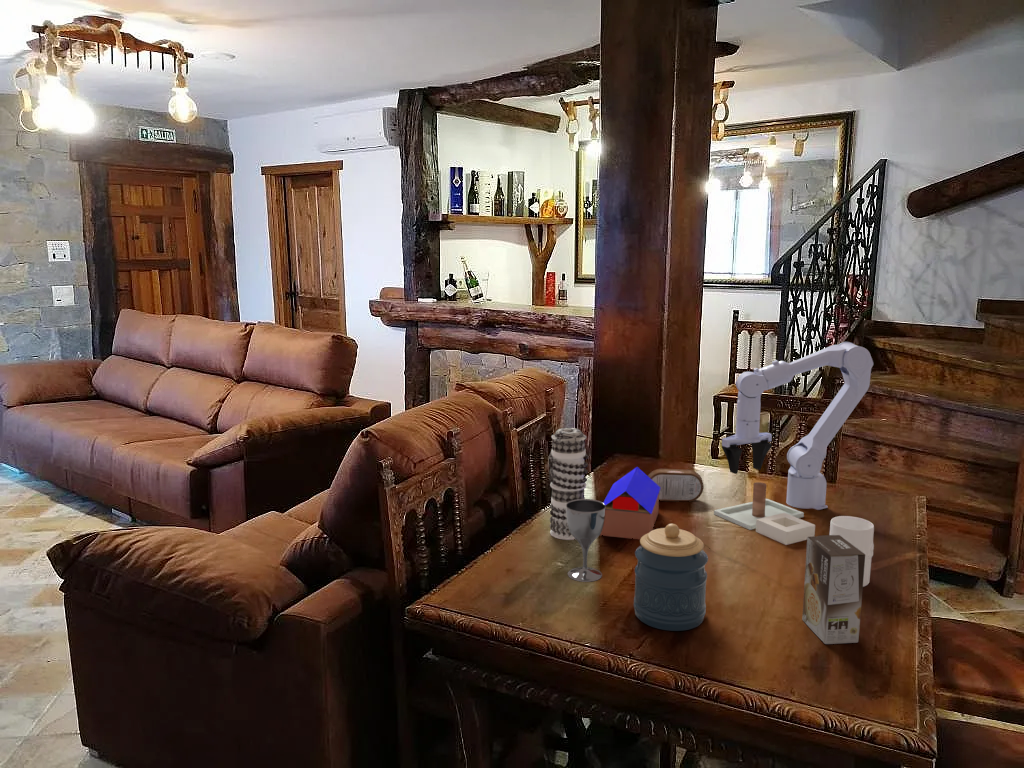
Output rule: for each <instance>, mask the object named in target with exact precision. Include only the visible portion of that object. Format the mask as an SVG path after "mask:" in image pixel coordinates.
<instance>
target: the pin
mask: <svg viewBox="0 0 1024 768" xmlns="http://www.w3.org/2000/svg"><path fill="white" fill-rule="evenodd" d="M766 496H767V483H764V482H760V481H759V482H758V481H756V482H754V483H753V487H752V502H753V505H752V516H754V517H764V516H765V502H766V499H767V497H766Z"/></svg>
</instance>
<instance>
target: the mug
mask: <svg viewBox="0 0 1024 768" xmlns="http://www.w3.org/2000/svg"><path fill="white" fill-rule="evenodd" d="M829 522H830V524H829V525H830V526H829V535H840V536H841V537H843V538H844V539H845V540H847V541H848V542H849V543H851V544H852V545H853V546H855V547H856V548H857V549H859V550H860V551H861V552H863V553H864V554H865V565H864V577H863V588H864V587H866V586H868V585H869V583H870V578H871V569H872V558H873V557H874V549H875V548H874V547H875V544H874V543H875V542H874V535H875V534H874V532H875V526H874V523H872V522H871V521H870V520H868V519H865V518H861V517H857V516H851V515H839V516H835V517H832V518H831V520H830V521H829Z"/></svg>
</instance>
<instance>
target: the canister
mask: <svg viewBox="0 0 1024 768" xmlns="http://www.w3.org/2000/svg"><path fill="white" fill-rule="evenodd" d="M639 544H640V545H639V546H638V547H637V548H636V549H635V551H634V555H635V558H636V560H637V564H636V565H635V567H634V574H635V578H634V579H635V580H634V581H635V582H634V583H635V585H634V597H633V609H634V614H635V616H636V618H637V619H638V620H640V622H642V623H644V624H645V625H647V626H649V627H651V628H655V629H657V630H662V631H671V632H680V631H682V632H683V631H688V630H693V629H695V628H697V627H699V626H700V625H701V624H702V623H703V621H704V620H705V615H706V610H707V604H706V592H707V591H706V588H707V587H706V586H707V580H708V579H707V578H708V572H707V571H706V569H705V566H706V564H707V563H708V561H709V557H708V554H707V552H705V550H704V546H705V544H704V542H703V540H702V539H700V538H699V537H697V536H695V534H693V533H692V532H690V531H689V530H688V531H687V530H684V529H681V528H680V527H679V526H678V525H677V524H676V523H668V524H667V525H666V526H665V527H660V528H656V529H655V528H654V529H653V530H652V531H651V532H649V533H647V534H645V535H644V536H642V537H641V539H639Z"/></svg>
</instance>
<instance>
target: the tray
mask: <svg viewBox="0 0 1024 768" xmlns="http://www.w3.org/2000/svg"><path fill="white" fill-rule="evenodd" d="M752 505H753V501H750V502H746V503H741V504H736V505H731V506H727V507H726V506H725V507H723V508H718V509H714V510H713V515H715V516H717V517H719V518H721V519H724V520H726V521H728V522H730V523H732V524H734V525H737V526H740V527H741V528H744V529H746V530H749V531H751V530H756V520H757V519H760V518H764V517H768V516H773V515H777V514H781V513H786V514H789V515H791V516H794V517H796V518H799V519H801V518H804V517H805V515H804V514H805V513H804V512H803V511H800V510H797V509H795V508H794V507H791V506H789V505H785V504H782V503H780V502H776V501H774V500H772V499H769V498H766V502H765V516H764V517H754V516H752Z"/></svg>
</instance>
